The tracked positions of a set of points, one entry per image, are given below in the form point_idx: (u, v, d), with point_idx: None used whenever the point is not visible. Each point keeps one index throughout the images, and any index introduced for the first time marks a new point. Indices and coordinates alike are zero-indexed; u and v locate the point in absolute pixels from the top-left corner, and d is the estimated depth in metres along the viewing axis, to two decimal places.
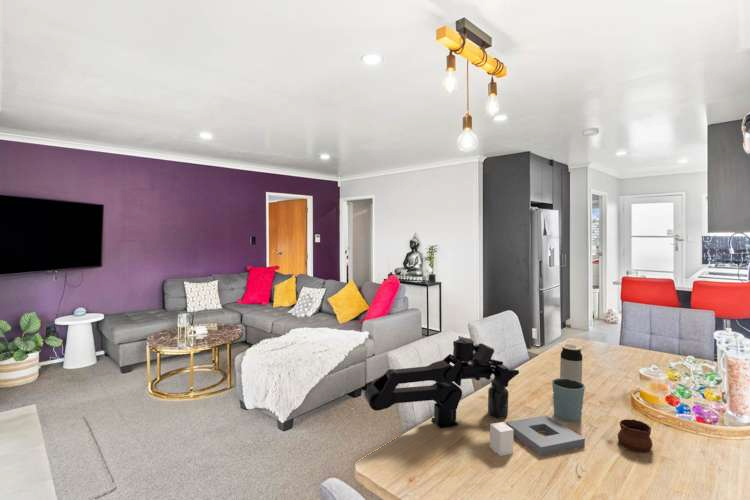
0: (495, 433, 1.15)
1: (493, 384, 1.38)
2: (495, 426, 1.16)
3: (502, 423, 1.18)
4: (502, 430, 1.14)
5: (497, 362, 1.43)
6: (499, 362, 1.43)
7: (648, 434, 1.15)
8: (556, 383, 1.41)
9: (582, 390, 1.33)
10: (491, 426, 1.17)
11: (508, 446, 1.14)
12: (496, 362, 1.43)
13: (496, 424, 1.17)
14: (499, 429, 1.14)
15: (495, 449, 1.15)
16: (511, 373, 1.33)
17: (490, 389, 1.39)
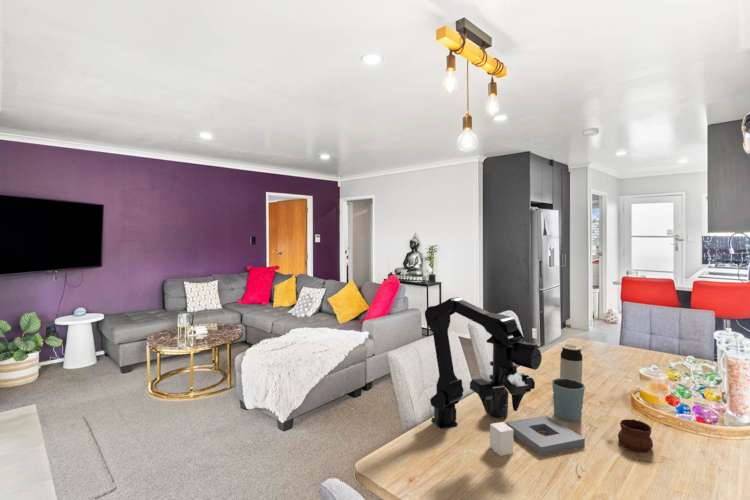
0: (495, 433, 1.15)
1: None
2: (495, 426, 1.16)
3: (502, 423, 1.18)
4: (502, 430, 1.14)
5: (515, 403, 1.17)
6: (515, 406, 1.17)
7: (649, 434, 1.15)
8: (556, 383, 1.41)
9: (582, 390, 1.33)
10: (491, 426, 1.17)
11: (508, 446, 1.14)
12: (515, 402, 1.17)
13: (496, 424, 1.17)
14: (499, 429, 1.14)
15: (495, 449, 1.15)
16: (485, 402, 1.14)
17: None
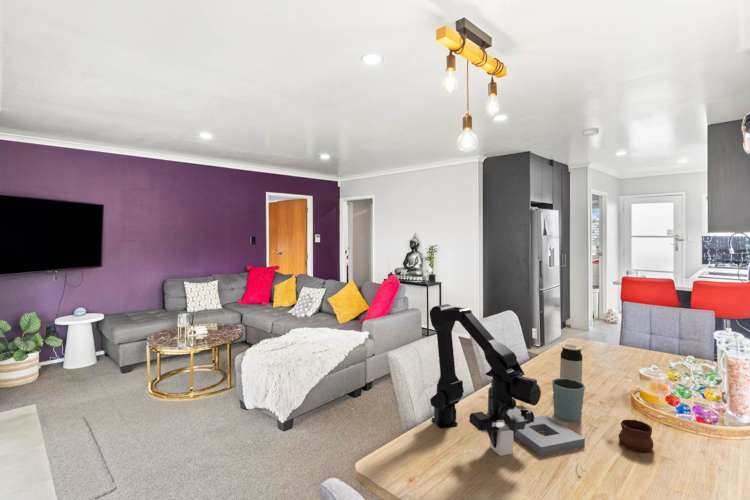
0: None
1: None
2: None
3: (502, 423, 1.18)
4: (502, 430, 1.14)
5: None
6: None
7: (649, 434, 1.15)
8: (556, 383, 1.41)
9: (582, 390, 1.33)
10: None
11: (508, 446, 1.14)
12: None
13: (496, 424, 1.17)
14: (499, 429, 1.14)
15: (495, 449, 1.15)
16: (491, 435, 1.15)
17: (490, 389, 1.39)
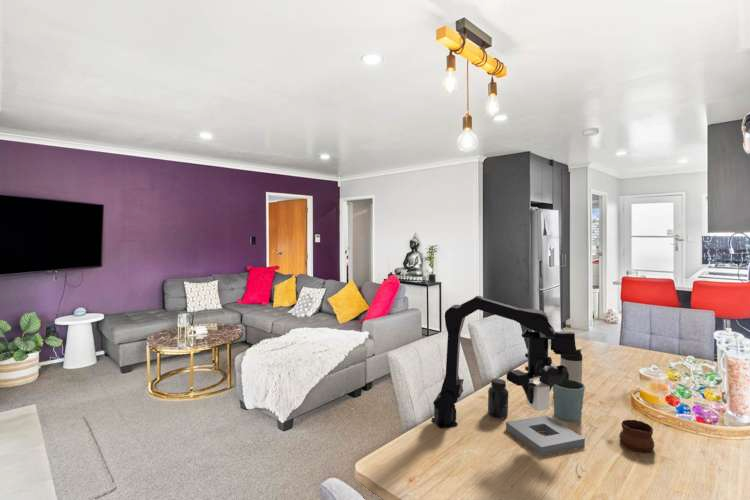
0: None
1: (493, 384, 1.38)
2: None
3: (538, 381, 1.23)
4: (539, 386, 1.19)
5: None
6: None
7: (650, 434, 1.15)
8: None
9: (582, 390, 1.33)
10: None
11: (544, 401, 1.19)
12: None
13: None
14: (536, 386, 1.19)
15: (532, 405, 1.20)
16: (528, 392, 1.20)
17: (490, 389, 1.39)
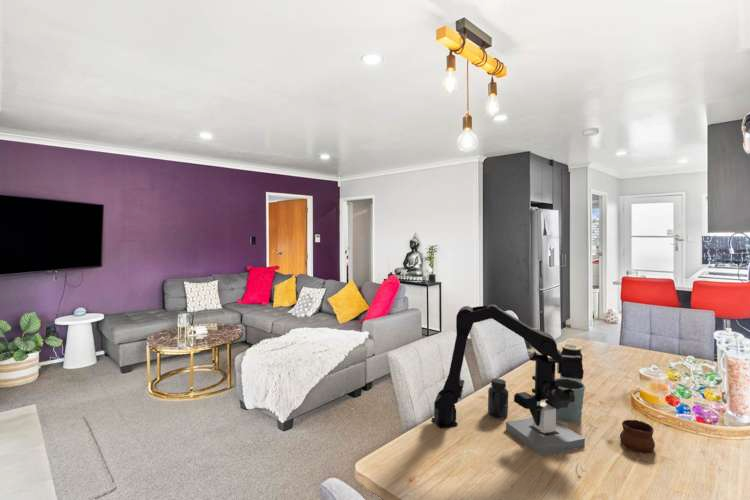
0: None
1: (493, 384, 1.38)
2: None
3: (544, 403, 1.25)
4: (545, 409, 1.21)
5: None
6: None
7: (651, 434, 1.15)
8: None
9: (582, 390, 1.33)
10: None
11: (551, 424, 1.21)
12: None
13: None
14: None
15: (538, 427, 1.22)
16: (534, 414, 1.22)
17: (490, 389, 1.39)
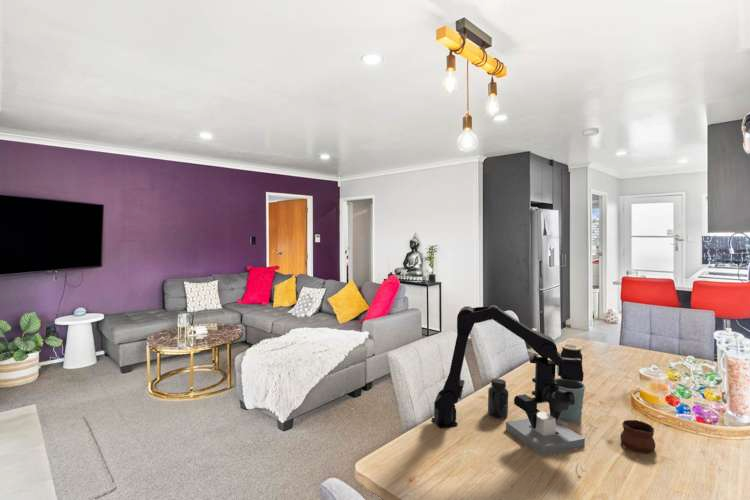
0: (538, 422, 1.22)
1: (493, 384, 1.38)
2: (538, 415, 1.23)
3: (544, 413, 1.25)
4: (545, 419, 1.21)
5: None
6: None
7: (651, 435, 1.15)
8: None
9: (582, 390, 1.33)
10: None
11: (550, 434, 1.21)
12: (554, 417, 1.24)
13: (538, 413, 1.24)
14: (542, 418, 1.21)
15: None
16: (531, 417, 1.21)
17: (490, 389, 1.39)
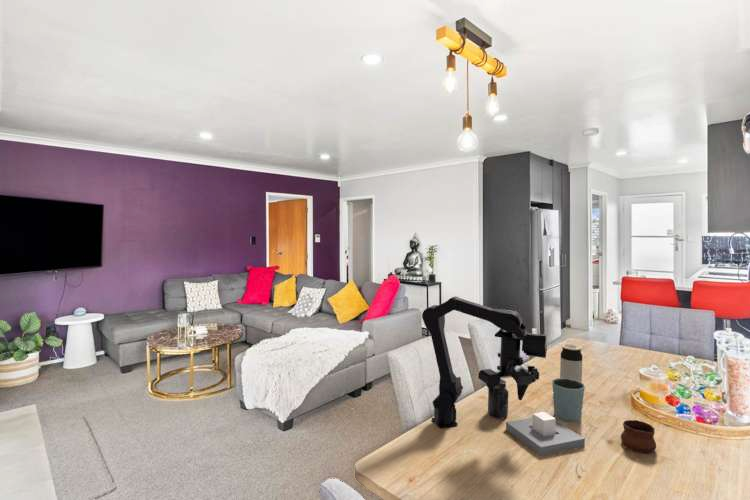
0: (538, 422, 1.22)
1: None
2: (538, 415, 1.23)
3: (544, 413, 1.25)
4: (545, 419, 1.21)
5: (520, 393, 1.24)
6: (520, 395, 1.24)
7: (652, 435, 1.15)
8: (556, 383, 1.41)
9: (582, 390, 1.33)
10: (533, 415, 1.24)
11: (550, 434, 1.21)
12: (521, 392, 1.24)
13: (538, 414, 1.24)
14: (542, 418, 1.21)
15: None
16: (492, 392, 1.21)
17: None
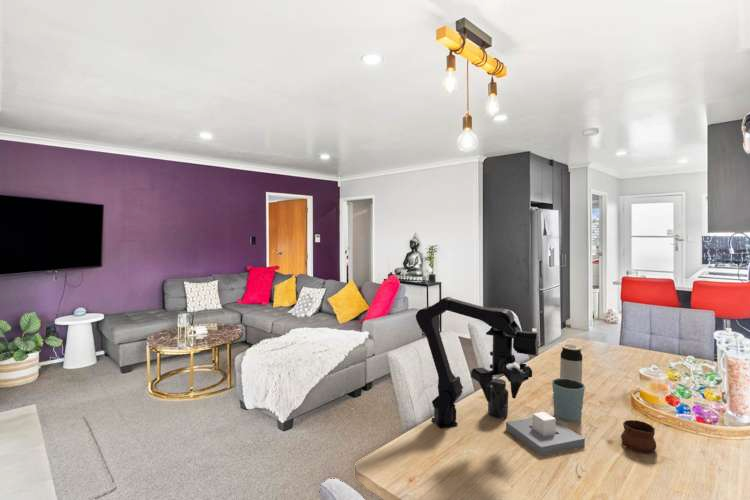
0: (538, 422, 1.22)
1: (493, 384, 1.38)
2: (538, 415, 1.23)
3: (544, 413, 1.25)
4: (545, 419, 1.21)
5: (514, 391, 1.24)
6: (514, 393, 1.24)
7: (652, 435, 1.15)
8: (556, 383, 1.41)
9: (582, 390, 1.33)
10: (533, 415, 1.24)
11: (550, 434, 1.21)
12: (514, 390, 1.24)
13: (538, 414, 1.24)
14: (542, 418, 1.21)
15: None
16: (485, 390, 1.21)
17: None
